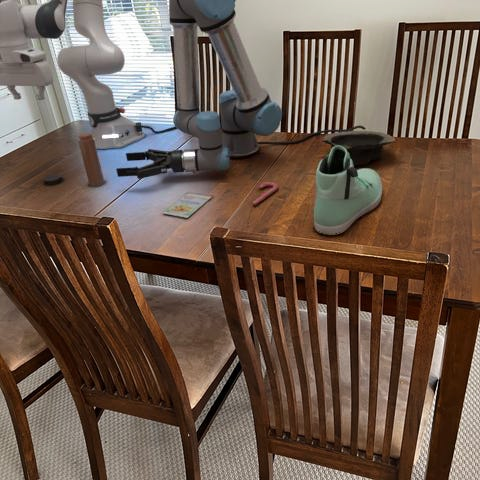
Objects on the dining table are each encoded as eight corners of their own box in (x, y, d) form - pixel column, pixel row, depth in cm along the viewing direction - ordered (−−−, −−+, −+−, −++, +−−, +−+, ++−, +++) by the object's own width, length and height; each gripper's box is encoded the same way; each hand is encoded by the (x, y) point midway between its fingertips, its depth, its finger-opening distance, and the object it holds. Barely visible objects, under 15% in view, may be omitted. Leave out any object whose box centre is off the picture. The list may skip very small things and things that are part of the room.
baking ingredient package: (162, 212, 143) (188, 192, 155) (162, 213, 144) (188, 193, 155) (187, 216, 140) (211, 196, 151) (187, 218, 140) (212, 197, 151)
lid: (56, 177, 175) (55, 172, 174) (65, 180, 171) (64, 176, 170) (42, 182, 171) (40, 178, 170) (50, 186, 168) (49, 182, 167)
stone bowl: (352, 176, 156) (352, 149, 152) (308, 158, 177) (307, 134, 172) (409, 157, 165) (411, 131, 161) (361, 143, 185) (362, 119, 181)
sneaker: (389, 187, 148) (396, 123, 138) (356, 242, 123) (361, 168, 112) (346, 181, 154) (350, 119, 144) (306, 232, 129) (307, 161, 118)
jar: (104, 185, 166) (93, 135, 156) (89, 187, 165) (76, 137, 155) (104, 179, 170) (92, 130, 161) (89, 182, 169) (76, 133, 160)
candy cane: (239, 202, 147) (239, 198, 146) (265, 183, 157) (265, 179, 156) (255, 207, 144) (255, 202, 143) (281, 187, 154) (281, 183, 153)
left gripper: (-18, 57, 150) (-3, 101, 157) (36, 56, 143) (49, 102, 151) (-3, 53, 155) (10, 96, 162) (49, 52, 148) (61, 97, 156)
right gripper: (180, 186, 153) (115, 190, 155) (189, 157, 175) (132, 160, 176) (177, 165, 149) (110, 168, 151) (186, 137, 171) (128, 141, 172)
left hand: (29, 99), depth 156 cm, fingers open, 8 cm apart
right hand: (122, 164), depth 163 cm, fingers open, 13 cm apart
